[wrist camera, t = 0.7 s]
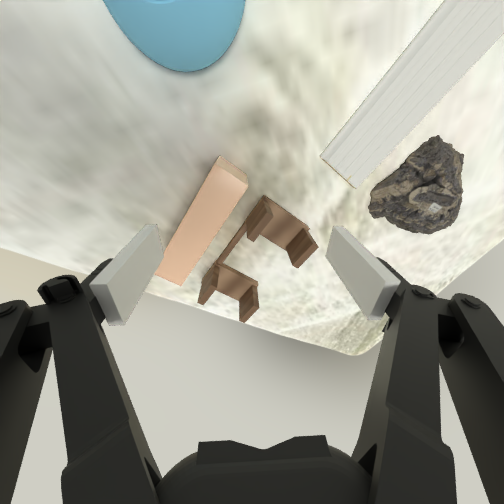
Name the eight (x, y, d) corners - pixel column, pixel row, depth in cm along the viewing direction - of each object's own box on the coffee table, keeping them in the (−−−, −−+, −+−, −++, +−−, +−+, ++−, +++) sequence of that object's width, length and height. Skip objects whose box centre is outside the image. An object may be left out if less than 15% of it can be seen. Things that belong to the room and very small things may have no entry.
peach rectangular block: (166, 248, 40) (152, 273, 33) (219, 155, 32) (214, 162, 25) (190, 259, 42) (181, 286, 35) (246, 174, 34) (248, 186, 27)
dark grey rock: (411, 122, 31) (355, 212, 38) (432, 122, 28) (367, 220, 35) (496, 165, 36) (432, 239, 43) (523, 169, 32) (448, 248, 39)
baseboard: (311, 150, 33) (352, 186, 36) (317, 152, 30) (360, 191, 34) (522, -123, 21) (553, -28, 24) (560, -155, 18) (587, -45, 22)
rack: (202, 279, 44) (196, 304, 38) (264, 194, 35) (269, 209, 29) (242, 298, 48) (242, 324, 41) (307, 226, 39) (320, 244, 33)
